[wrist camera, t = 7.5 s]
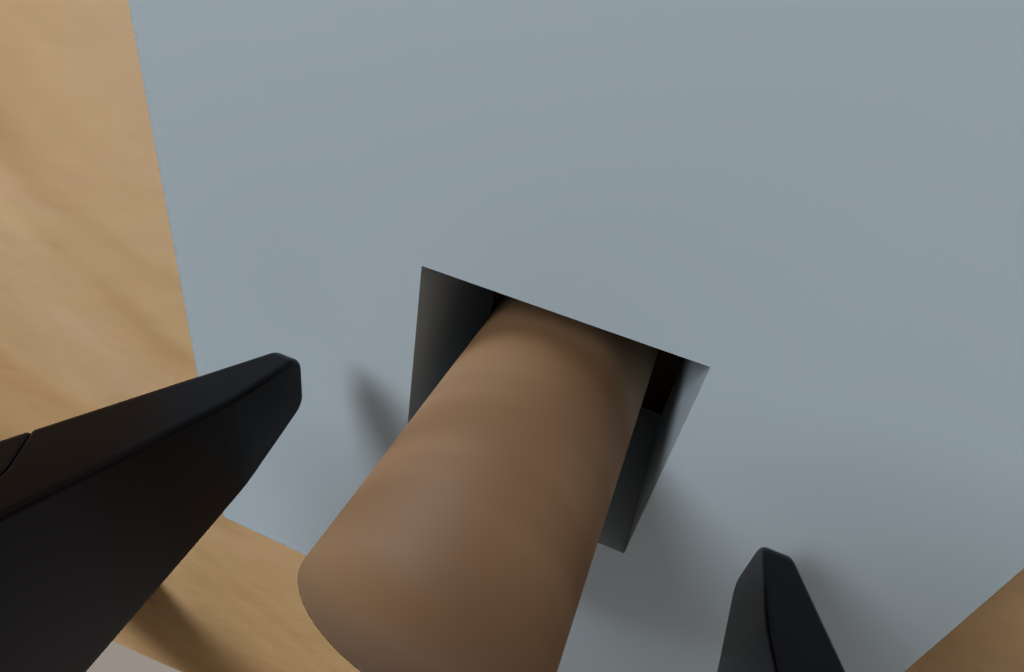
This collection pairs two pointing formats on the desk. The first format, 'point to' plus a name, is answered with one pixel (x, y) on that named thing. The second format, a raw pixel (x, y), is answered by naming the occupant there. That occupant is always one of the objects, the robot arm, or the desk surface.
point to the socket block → (636, 273)
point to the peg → (484, 504)
